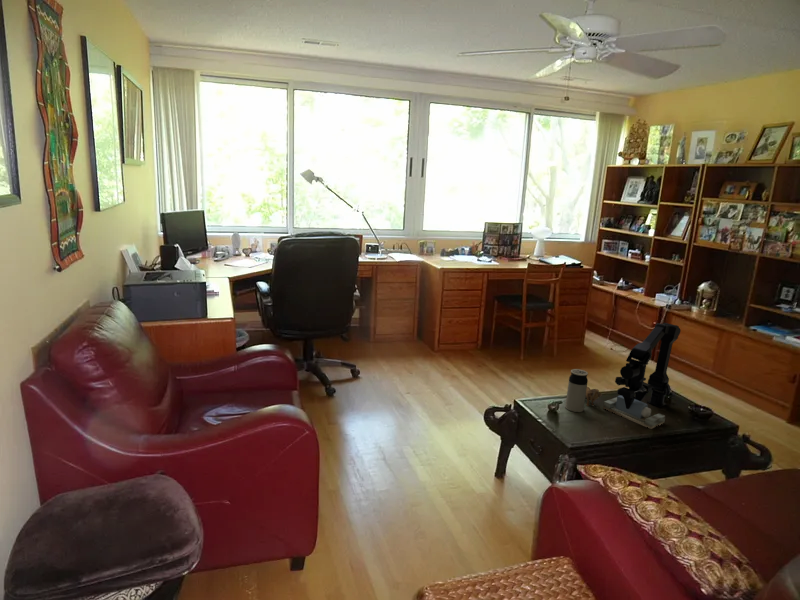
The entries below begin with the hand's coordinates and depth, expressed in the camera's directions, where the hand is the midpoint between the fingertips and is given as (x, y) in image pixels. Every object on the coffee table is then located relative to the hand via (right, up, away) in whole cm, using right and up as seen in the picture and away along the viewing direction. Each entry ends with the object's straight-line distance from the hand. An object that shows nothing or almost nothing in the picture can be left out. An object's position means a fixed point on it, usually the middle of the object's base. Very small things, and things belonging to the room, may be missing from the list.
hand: (631, 407), depth 228 cm
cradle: (0, -4, 0) cm, 4 cm away
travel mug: (-25, -2, +4) cm, 25 cm away
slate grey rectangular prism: (0, -3, +1) cm, 3 cm away
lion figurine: (-15, -1, +12) cm, 19 cm away
